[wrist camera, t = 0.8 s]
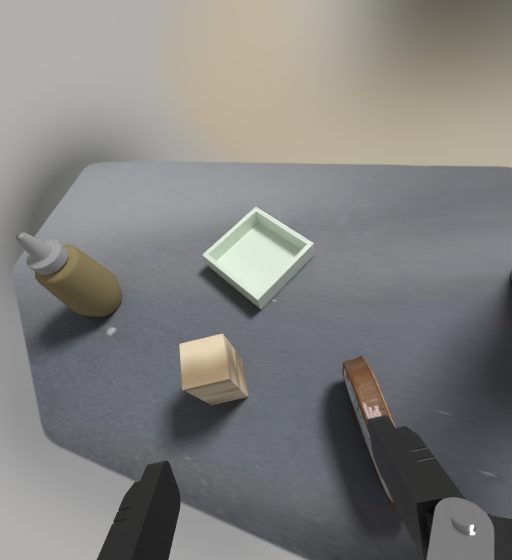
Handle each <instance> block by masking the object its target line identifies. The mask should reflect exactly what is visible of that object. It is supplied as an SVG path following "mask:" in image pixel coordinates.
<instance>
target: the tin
mask: <svg viewBox="0 0 512 560" xmlns="http://www.w3.org/2000/svg"><path fill="white" fill-rule="evenodd" d="M343 377H344V381H345V384H346V387H347V391H348V394H349V397H350V400H351V402H352V405H353V408H354V411H355V414H356V417H357V420H358V423H359V426H360V429H361V432H362V434H363V437H364V440H365V443H366V446H367V448H368V451H369V454H370V456H371V459H372V462H373V464H374V467H375V470H376V472H377V475H378V477H379V480H380V482H381V485H382V487H383V490H384V492H385V494H386V496H387V498H388V500H389V502H390V503H391V504H392V505H393V506H394V507H395V509H396V510H397V511H398V509H397V507H396V505H395V503H394V501H393V499H392V497H391V495H390V492H389V490H388V488H387V486H386V484H385V482H384V480H383V478H382V476H381V474H380V472H379V470H378V468H377V465H376V462H375V460H374V456H373V452H372V447H371V441H370V435H369V429H368V423H367V419H369V418H374V417H379V416H383V415H387V416H388V417H389V418H390V420H391V421H392V423H393V424H394V421H393V419H392V417H391V414H390V412H389V409H388V407H387V404H386V402H385V399H384V397H383V394H382V392H381V389H380V387H379V385H378V382H377V380H376V378H375V375H374V373H373V371H372V369H371V367H370V366H369V364H368V362H367V361H366V359H365V358H364V357H363V356H360V357H359V358H356V359H352V360H348V361H346V362H344V363H343ZM394 426H395V424H394ZM395 428H396V426H395Z"/></svg>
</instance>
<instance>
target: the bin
mask: <svg viewBox="0 0 512 560" xmlns="http://www.w3.org/2000/svg"><path fill="white" fill-rule="evenodd" d="M313 256H314V243H312V242H311V241H309V240H308V239H306V238H304V237H303V236H301V235H300V234H298V233H296V232H295V231H293V230H292V229H290V228H289V227H287V226H285V225H284V224H282V223H281V222H279V221H277V220H276V219H274V218H273V217H271V216H270V215H268V214H266V213H265V212H263V211H262V210H260V209H259V208H257V207H255V208H254V209H253V210H252V211H251V212H250V213H249V214H247V215H246V216H245V217H244V218H243V219H242V220H241V221H240V222H238V223H237V224H236V225H235V226H234V227H233V228H232V229H231V230H230V231H228V232H227V233H226V234H225V235H224V236H223V237H222V238H221V239H220V240H218V241H217V242H216V243H215V244H214V245H213V246H212V247H211V248H209V249H208V250H207V251H206V252H205V253H204V254H203V257H204V259H205V261H206V263H207V265H208V266H209V267H210V268H211V269H212V270H213V271H215V272H216V273H217V274H218V275H219V276H221V277H222V278H223V279H224V280H225V281H227V282H228V283H229V284H230V285H231V286H233V287H234V288H235V289H236V290H238V291H239V292H240V293H241V294H242V295H244V296H245V297H246V298H247V299H248V300H250V301H251V302H252V303H253V304H254V305H256V306H257V307H258V308H259V309H260V310H262V309H263V308H264V307H265V306H266V305H267V304H268V303H269V302H270V301H271V300H272V299H273V298H274V297H275V296H276V294H277V293H278V292H279V291H280V290H281V289H282V288H283V287H284V286H285V285H286V284H287V283H288V282H289V281H290V280H291V279H292V278H293V277H294V276H295V275H296V274H297V273H298V272H299V271H300V270H301V269H302V268H303V267H304V266H305V265H306V264H307V263H308V262H309V261H310V260H311V259H312V257H313Z"/></svg>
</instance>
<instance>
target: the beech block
mask: <svg viewBox="0 0 512 560" xmlns="http://www.w3.org/2000/svg"><path fill="white" fill-rule="evenodd" d="M180 359H181V374H182V389H183V390H184V391H186V392H188V393H189V394H191V395H193V396H195V397H197V398H199V399H201V400H203V401H205V402H207V403H208V404H210V405H215V404H219V403H224V402H228V401H232V400H237V399H241V398H245V397H248V393H247V387H246V381H245V375H244V369H243V363H242V360H241V358H240V357H239V355H238V354H237V353H236V351H235V350H234V348H233V347H232V346H231V344H230V343H229V341H228V340H227V339H226V337H225V336H224V334H219V335H215V336H211V337H207V338H203V339H199V340H194V341H190V342H186V343H182V344H180Z"/></svg>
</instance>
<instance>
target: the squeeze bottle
mask: <svg viewBox="0 0 512 560" xmlns="http://www.w3.org/2000/svg"><path fill="white" fill-rule="evenodd" d="M16 239H17V241H18V242H19V243H20V244H21V245H22V247H23V248H24V249H25V250H26V251H27V252H28V256H27V265H28V266H29V267H30V268H31V269H33V270H34V271H35V278H36V279H37V281H38V282H39V283H40V284H41V285H42V286H44V287H45V288H46V289H47V290H48V291H50V292H51V293H52V294H53V295H54V296H56V297H57V298H58V299H59V300H60V301H62V302H63V303H64V304H65V305H66V306H68V307H69V308H70V309H71V310H72V311H74V312H75V313H78V314H81V315H86V316H94V317H105V316H107V315H109V314H111V313H113V312H114V311H115V310H116V309H117V308H118V307H119V305H120V303H121V300H122V293H121V289H120V287H119V284H118V281H117V279H116V277H115V276H114V275H113V274H112V273H111V272H110V271H109V270H107V269H106V268H105V267H103V266H102V265H100V264H99V263H98V262H96V261H95V260H93V259H92V258H90V257H89V256H88V255H86V254H85V253H83V252H82V251H80V250H79V249H78V248H76V247H75V246H71V245H62V244H61V243H59V242H58V241H57V240H53V239H50V240H44V241H41V240H39V239H37V238H35V237H32V236H30V235H28V234H26V233H24V232H21V233H19V234H18V235H17V236H16Z"/></svg>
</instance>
